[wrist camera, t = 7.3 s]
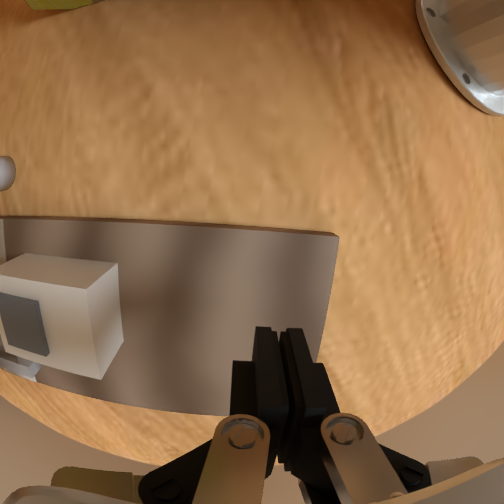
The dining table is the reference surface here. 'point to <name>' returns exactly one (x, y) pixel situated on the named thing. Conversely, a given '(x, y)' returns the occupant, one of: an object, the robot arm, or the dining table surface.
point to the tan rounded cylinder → (6, 172)
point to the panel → (183, 301)
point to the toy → (58, 4)
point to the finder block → (61, 312)
